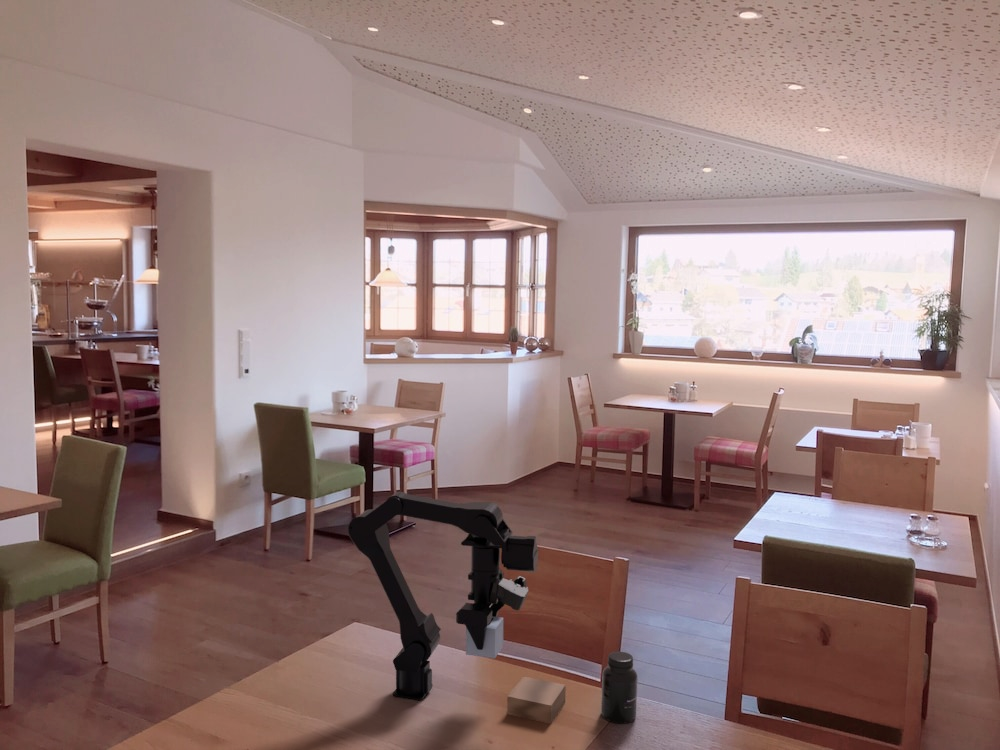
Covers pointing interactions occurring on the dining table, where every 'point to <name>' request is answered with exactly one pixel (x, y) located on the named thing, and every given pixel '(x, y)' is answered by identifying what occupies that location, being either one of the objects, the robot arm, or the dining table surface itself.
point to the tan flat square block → (536, 699)
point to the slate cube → (487, 640)
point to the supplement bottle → (619, 688)
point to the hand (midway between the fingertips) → (484, 642)
